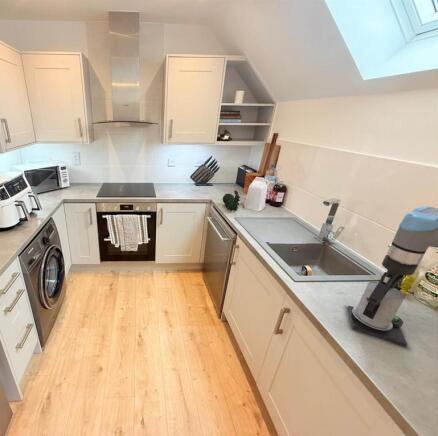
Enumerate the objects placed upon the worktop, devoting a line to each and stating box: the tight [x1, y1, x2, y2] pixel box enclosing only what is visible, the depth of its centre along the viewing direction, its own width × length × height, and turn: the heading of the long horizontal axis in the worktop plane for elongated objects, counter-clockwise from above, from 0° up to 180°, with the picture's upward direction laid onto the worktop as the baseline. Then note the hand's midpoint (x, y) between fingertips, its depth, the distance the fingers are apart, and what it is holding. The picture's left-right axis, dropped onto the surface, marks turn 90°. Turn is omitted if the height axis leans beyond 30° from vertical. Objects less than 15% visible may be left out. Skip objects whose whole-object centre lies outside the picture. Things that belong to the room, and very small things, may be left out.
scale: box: [347, 305, 408, 348], centre depth 86 cm, size 15×13×3 cm
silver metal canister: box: [355, 281, 406, 328], centre depth 83 cm, size 10×10×12 cm
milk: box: [243, 176, 268, 212], centre depth 192 cm, size 12×12×26 cm
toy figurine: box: [222, 189, 241, 212], centre depth 193 cm, size 9×19×25 cm
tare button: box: [392, 314, 400, 322], centre depth 86 cm, size 3×3×1 cm
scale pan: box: [352, 306, 393, 331], centre depth 86 cm, size 11×11×1 cm
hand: (376, 309), depth 84 cm, fingers open, 13 cm apart
